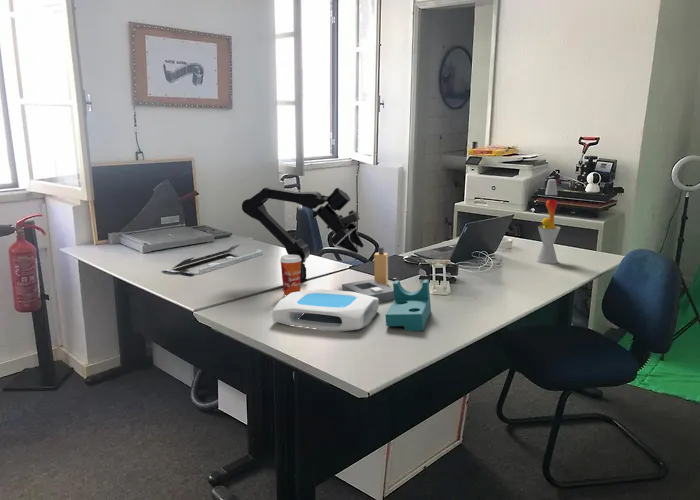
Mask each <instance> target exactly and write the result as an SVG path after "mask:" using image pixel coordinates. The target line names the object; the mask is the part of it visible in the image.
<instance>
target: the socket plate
mask: <svg viewBox="0 0 700 500" xmlns="http://www.w3.org/2000/svg"><path fill="white" fill-rule="evenodd" d="M341 291H350V292H356V293H360V294H364V295H368V296H372V297H376V298H378V303H381V302H387V301H394V289H393V287H390V286H388V285H387V286H386V285H384V284H382V283H379V282H377V281H375V280H374V279H373V278H371V279H366V280H359V281H355V282H348V283H341Z"/></svg>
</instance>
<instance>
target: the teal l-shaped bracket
mask: <svg viewBox="0 0 700 500" xmlns="http://www.w3.org/2000/svg"><path fill="white" fill-rule="evenodd" d="M421 285H422V286H421V288H419V289H418V290H416V291H408V290H407V289H405V288H404V287H403V285H402V284H401V282H400V280H394V282H393V283H392V286H393V287H392V288H393V289H394V299H393V301H392V303H391V304H390V306H389V308H388V309H387V311H386V313H385V325H386V327H404V331H414V332H416V331H418V332H420V331H422V332H423V331H424V330H425V326H426V324H427V321H428V319H429V317H430V314H431V312H432V306H431V305H432V304H431V293H430V281H429V279H423V280H422V283H421Z"/></svg>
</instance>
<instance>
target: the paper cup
mask: <svg viewBox="0 0 700 500" xmlns="http://www.w3.org/2000/svg"><path fill="white" fill-rule="evenodd" d="M301 260H302V259H301V257H300V256H299V255H288V254H285V255H282V256H281V257H280V259H279V262H280V267H281V268H280V269H281V279H282V288H283V296H284V295H286V296H287V295H289V294H290V293H292V292H299V291H301V281H300V274H301ZM286 296H285V297H286Z"/></svg>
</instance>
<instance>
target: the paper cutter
mask: <svg viewBox="0 0 700 500" xmlns="http://www.w3.org/2000/svg"><path fill="white" fill-rule="evenodd" d="M240 245H242V244H240V243H239V244H236V245H230V248H228V249H226V250H223V251H222V250H221V251H218V252H215V253H212V254H207V255H204V256H201V257H198V258H195V256H194V257H191V258H186V259H184V260H182V261H181V262H179V263H177V264H176V265H175V266H174V267H172V269H175V268H176V269H177V268H180V267H182V266H186V265H189V264H192V263H193V264H194V263H196V262H201V261H203V260H207V259H211V258H214V257H217V256H221V255H225V254H227V253H230V252H231V253H233V252H235V249H236V248H238V247H239V246H240ZM263 255H264V253H263V250H262V249H259V246H258V247H256V250H255V251H254V252H252V253H249V254H245V255H241V256H239V257H235V256H226V257H225V261H223V262H219V263H217V262H212V263H208V264H206V267H201V268H199V269H198V273H195V272H189V274H190V275H196V276H197V275H202V274H206V273H208V272H212V271H216V270H219V269H222V268H224V267H229V266H231V265H235V264H237V263H242V262H244V261H247V260H250V259H254V258H256V257H260V256H263ZM172 269H167V268H162V270H164V271H167V272H173V273H177V272H178V273H180V271H178V270H172ZM183 273H185V274H186V272H183Z"/></svg>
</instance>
